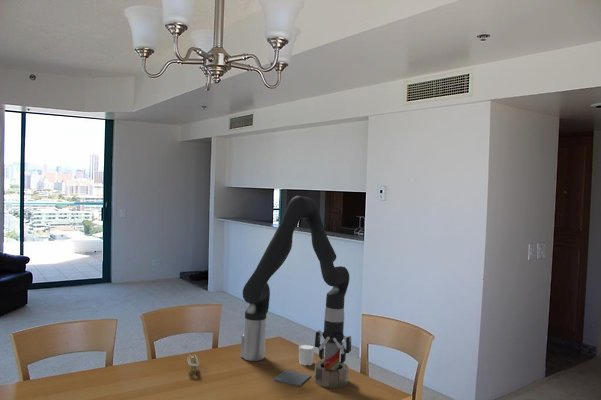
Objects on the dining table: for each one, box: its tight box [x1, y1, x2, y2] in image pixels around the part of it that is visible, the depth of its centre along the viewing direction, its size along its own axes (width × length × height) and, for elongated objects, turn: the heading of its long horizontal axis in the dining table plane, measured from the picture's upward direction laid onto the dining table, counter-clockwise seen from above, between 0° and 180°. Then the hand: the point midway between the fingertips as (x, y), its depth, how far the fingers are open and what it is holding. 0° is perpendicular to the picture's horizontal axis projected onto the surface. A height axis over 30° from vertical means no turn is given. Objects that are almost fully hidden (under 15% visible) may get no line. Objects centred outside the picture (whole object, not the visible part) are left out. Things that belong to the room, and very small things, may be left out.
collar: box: [313, 359, 349, 389], centre depth 188 cm, size 12×12×6 cm
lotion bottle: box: [324, 333, 341, 370], centre depth 188 cm, size 6×6×20 cm
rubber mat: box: [273, 369, 312, 387], centre depth 189 cm, size 11×11×1 cm
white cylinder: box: [298, 344, 316, 367], centre depth 206 cm, size 7×7×7 cm
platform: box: [186, 353, 200, 376], centre depth 191 cm, size 12×18×7 cm, turn 18°
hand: (332, 360), depth 188 cm, fingers open, 8 cm apart
